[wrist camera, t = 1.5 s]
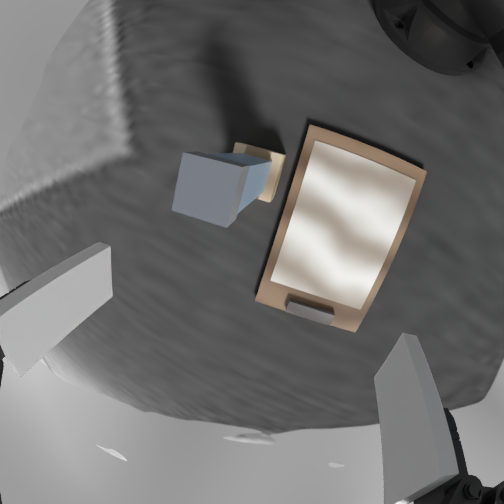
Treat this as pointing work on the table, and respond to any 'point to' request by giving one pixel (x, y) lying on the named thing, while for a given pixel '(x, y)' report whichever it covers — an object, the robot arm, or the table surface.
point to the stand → (274, 170)
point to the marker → (218, 185)
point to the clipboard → (339, 229)
